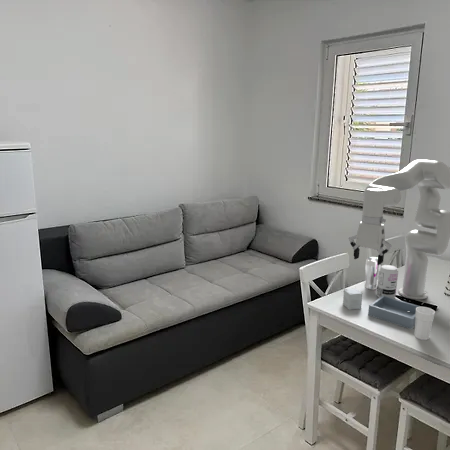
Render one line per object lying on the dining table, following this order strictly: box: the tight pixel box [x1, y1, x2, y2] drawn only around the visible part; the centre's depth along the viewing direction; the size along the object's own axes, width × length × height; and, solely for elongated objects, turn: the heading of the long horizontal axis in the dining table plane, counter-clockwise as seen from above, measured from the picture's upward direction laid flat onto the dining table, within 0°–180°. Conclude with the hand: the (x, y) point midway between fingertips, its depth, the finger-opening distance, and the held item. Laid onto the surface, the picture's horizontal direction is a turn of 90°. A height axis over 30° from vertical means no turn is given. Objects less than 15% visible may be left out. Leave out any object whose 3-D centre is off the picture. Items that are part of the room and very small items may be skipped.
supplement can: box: [376, 264, 399, 298], centre depth 193 cm, size 8×8×15 cm
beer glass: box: [364, 256, 382, 291], centre depth 204 cm, size 7×7×15 cm
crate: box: [367, 296, 422, 330], centre depth 175 cm, size 14×18×4 cm
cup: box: [413, 306, 436, 341], centre depth 158 cm, size 7×7×11 cm
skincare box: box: [342, 287, 363, 310], centre depth 184 cm, size 6×6×7 cm
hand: (367, 261), depth 167 cm, fingers open, 9 cm apart
